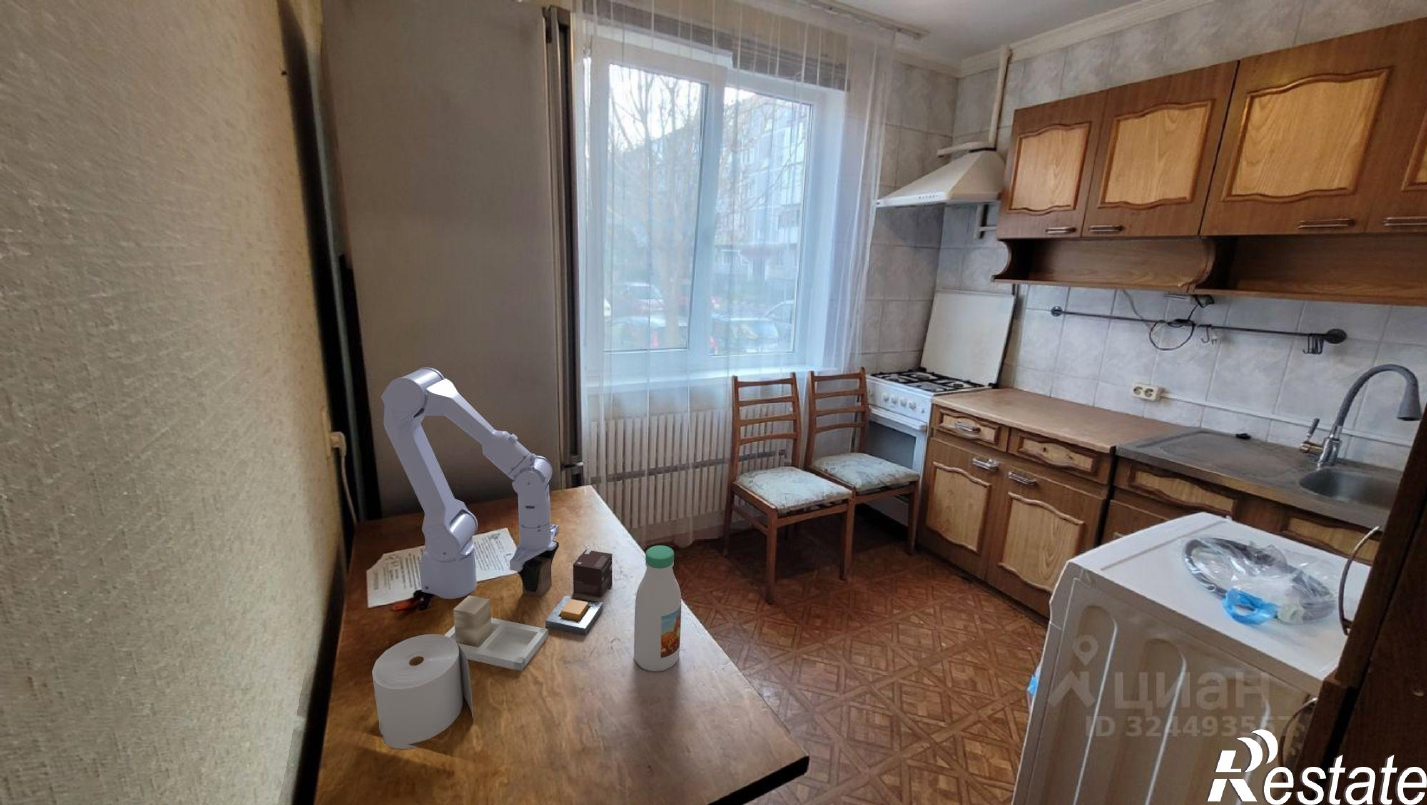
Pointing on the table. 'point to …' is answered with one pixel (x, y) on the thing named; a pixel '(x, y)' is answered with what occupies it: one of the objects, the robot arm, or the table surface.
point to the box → (592, 573)
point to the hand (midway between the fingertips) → (537, 583)
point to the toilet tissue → (420, 688)
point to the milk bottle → (657, 612)
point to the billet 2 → (542, 578)
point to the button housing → (572, 625)
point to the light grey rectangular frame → (506, 644)
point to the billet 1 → (472, 621)
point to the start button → (574, 610)
